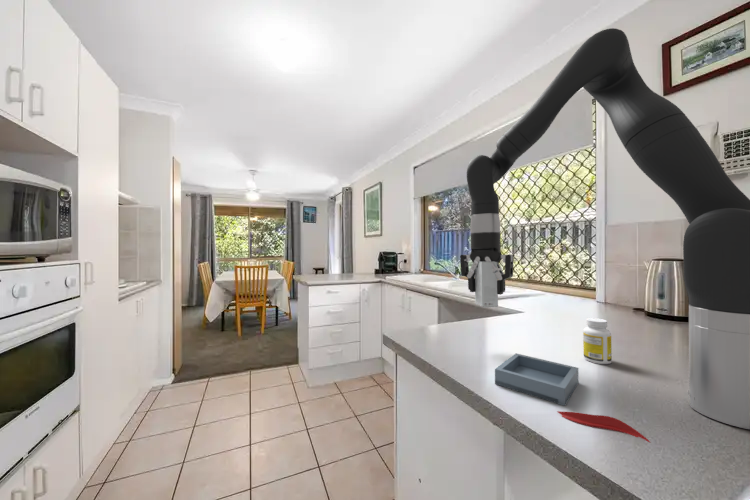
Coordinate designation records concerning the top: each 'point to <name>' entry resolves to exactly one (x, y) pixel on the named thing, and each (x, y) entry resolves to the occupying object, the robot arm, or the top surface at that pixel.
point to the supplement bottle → (597, 341)
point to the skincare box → (486, 285)
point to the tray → (538, 378)
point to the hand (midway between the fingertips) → (486, 292)
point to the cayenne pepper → (601, 423)
